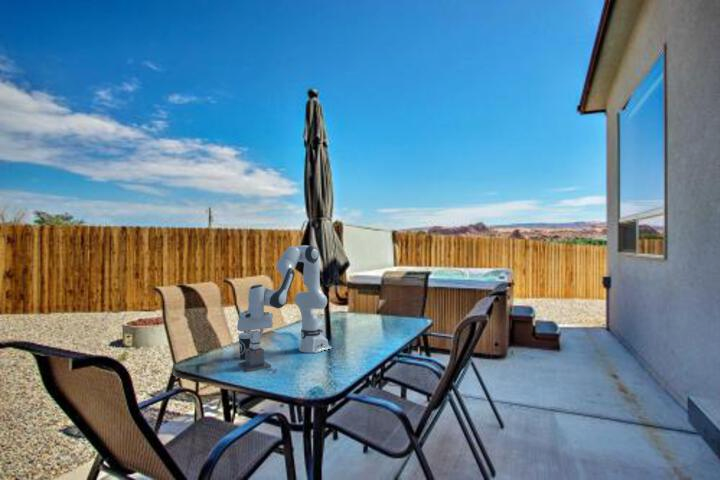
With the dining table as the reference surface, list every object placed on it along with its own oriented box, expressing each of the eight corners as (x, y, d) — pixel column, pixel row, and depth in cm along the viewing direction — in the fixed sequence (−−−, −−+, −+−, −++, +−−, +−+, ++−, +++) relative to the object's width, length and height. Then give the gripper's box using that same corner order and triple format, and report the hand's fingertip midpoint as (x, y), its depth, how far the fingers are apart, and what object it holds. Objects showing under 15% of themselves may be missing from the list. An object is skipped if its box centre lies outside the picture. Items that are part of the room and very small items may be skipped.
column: (256, 358, 211) (257, 330, 212) (259, 360, 208) (260, 331, 208) (249, 359, 209) (250, 331, 209) (252, 361, 205) (253, 332, 206)
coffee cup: (248, 360, 219) (249, 335, 219) (234, 359, 221) (235, 334, 221) (256, 356, 228) (257, 332, 229) (242, 355, 230) (243, 331, 230)
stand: (260, 361, 218) (261, 344, 218) (270, 367, 207) (271, 349, 207) (237, 365, 209) (238, 348, 210) (246, 372, 198) (247, 353, 199)
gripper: (270, 310, 218) (269, 334, 218) (236, 313, 205) (235, 338, 205) (274, 312, 213) (274, 336, 213) (240, 315, 201) (239, 340, 200)
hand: (255, 337), depth 209 cm, fingers closed on column, 4 cm apart
